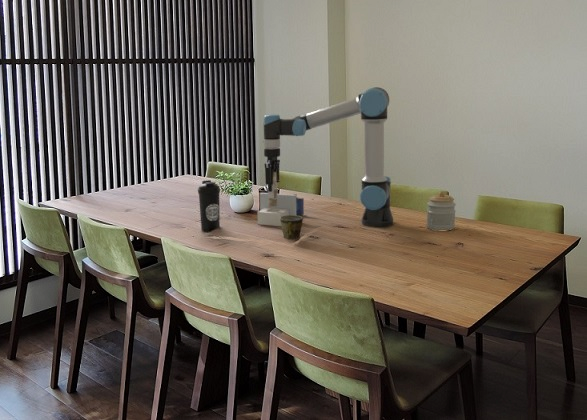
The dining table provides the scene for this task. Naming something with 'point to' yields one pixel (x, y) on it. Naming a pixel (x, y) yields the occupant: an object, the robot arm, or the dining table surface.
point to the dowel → (274, 200)
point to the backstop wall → (280, 202)
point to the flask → (299, 206)
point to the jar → (441, 212)
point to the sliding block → (271, 216)
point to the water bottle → (209, 205)
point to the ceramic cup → (291, 226)
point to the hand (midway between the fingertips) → (272, 196)
